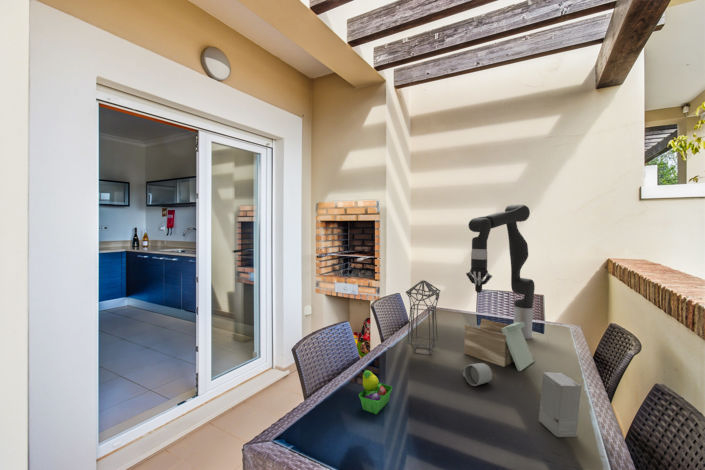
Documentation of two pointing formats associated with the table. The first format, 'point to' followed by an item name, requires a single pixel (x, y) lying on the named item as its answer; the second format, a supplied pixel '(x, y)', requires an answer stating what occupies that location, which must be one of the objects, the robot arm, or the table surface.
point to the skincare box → (559, 404)
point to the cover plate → (518, 345)
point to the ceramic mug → (477, 374)
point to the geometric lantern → (423, 309)
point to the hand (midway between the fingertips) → (478, 292)
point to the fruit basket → (374, 393)
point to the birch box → (488, 343)
